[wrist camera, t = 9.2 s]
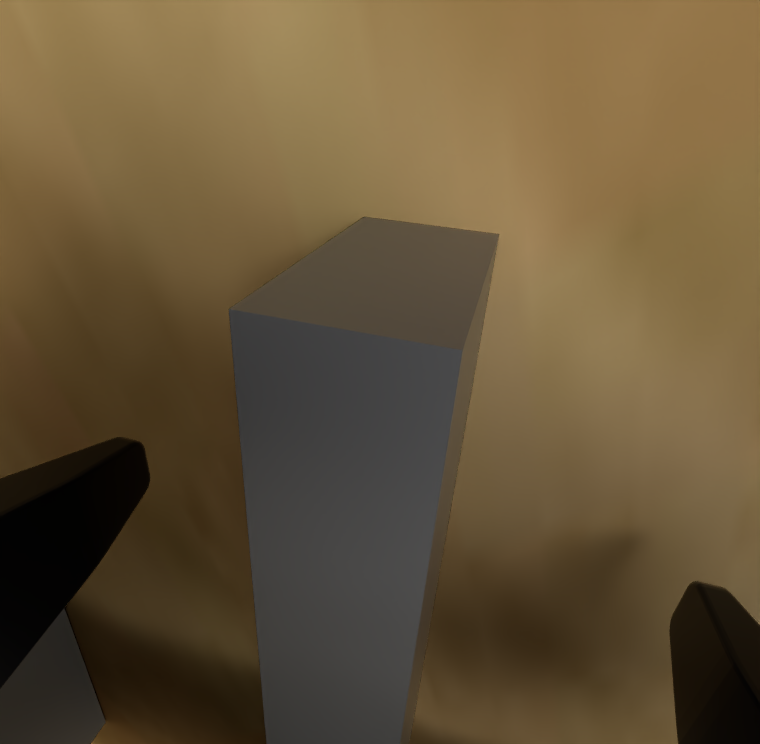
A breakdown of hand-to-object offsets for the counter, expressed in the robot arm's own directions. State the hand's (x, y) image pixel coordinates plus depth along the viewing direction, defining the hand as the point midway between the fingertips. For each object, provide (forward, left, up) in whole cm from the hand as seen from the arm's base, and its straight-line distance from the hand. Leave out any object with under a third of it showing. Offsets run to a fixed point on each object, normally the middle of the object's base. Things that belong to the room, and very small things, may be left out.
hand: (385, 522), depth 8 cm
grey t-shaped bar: (0, +7, -2) cm, 7 cm away
